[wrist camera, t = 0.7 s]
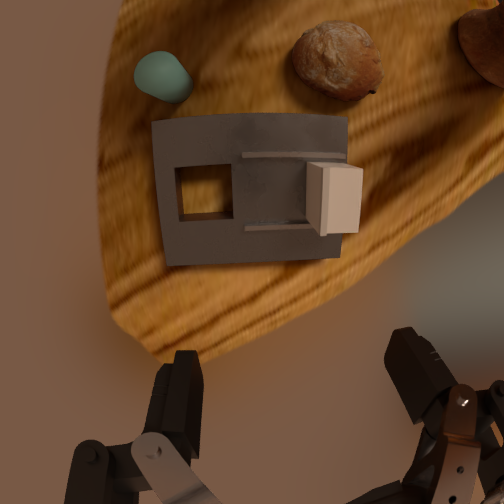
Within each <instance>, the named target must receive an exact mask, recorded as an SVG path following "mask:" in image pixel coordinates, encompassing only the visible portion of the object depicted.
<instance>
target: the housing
mask: <svg viewBox="0 0 504 504" xmlns="http://www.w3.org/2000/svg"><path fill="white" fill-rule="evenodd" d="M151 125H152V143H153V158H154V170H155V181H156V190H157V200H158V208H159V216H160V224H161V231H162V238H163V245H164V251H165V257H166V263H167V266H179V265H203V264H226V263H248V262H268V261H288V260H308V259H326V258H340V253H341V243H342V233H327V236H320V235H319V234H318V233H317V231H316V230H315V229H314V228H313V226H312V225H311V224H310V223H309V221H308V220H307V219H306V218H305V215H306V177H307V162H335V163H345V164H347V139H348V117H341V116H329V115H316V114H297V113H236V114H217V115H203V116H192V117H182V118H173V119H166V120H158V121H151ZM215 164H231V171H232V194H233V211H231V212H211V213H194V214H184V209H183V199H182V188H181V175H180V167H187V166H200V165H215Z"/></svg>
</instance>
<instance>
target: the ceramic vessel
mask: <svg viewBox="0 0 504 504" xmlns="http://www.w3.org/2000/svg"><path fill="white" fill-rule="evenodd" d="M458 40H459V44H460V47H461V49H462V51H463V53H464V55H465V57H466V58H467V60H468V62H469V63H470V64H471V66H472V67H473V68H474V69H475V70H476V71H477V72H478V73H479V74H480V75H481V76H482V77H483V78H484V79H485V80H487V81H488V82H490V83H492V84H494V85H497V86H499V87H500V88H504V0H503V1H502V3H501V4H499V5H498V6H496V7H494V8H492V9H488V10H483V9H474V10H471V11H469V12H467V13H465V14H464V15H463V16H462V17H461V18H460V20H459V22H458Z"/></svg>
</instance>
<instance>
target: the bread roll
mask: <svg viewBox="0 0 504 504" xmlns="http://www.w3.org/2000/svg"><path fill="white" fill-rule="evenodd" d="M303 34H304V35H303V36H302V37H301V38H300V39H298V40H297V42H296V44H295V46H294V48H293V52H292V61H293V65H294V68H295V71H296V72H297V74H298V75H299V77H300V78H301V80H302V81H303V82H304V83H305V84H306V85H308V86H309V87H311V88H314V89H315V90H317V91H320V92H321V93H323V94H325V95H327V96H330V97H332V98H335V99H339V100H342V101H349V100H353V101H357V100H360V99H362V98H364V97H365V96H366V95H368V94H369V93H371V94H375V93H376V91H377V89H378V87H379V85H380V84H381V83H382V82H381V80H382V78H383V77H384V71H383V68H382V65H381V63H380V62H381V60H380V53H379V52H378V50H377V48H376V46H375V44H374V42H373V40H372V39H371V37H370V36H369V35H368V34H367V33H366V32H365V31H364V30H363V29H362V28H360V27H359V26H357V25H356V24H354V23H351V22H345V21H325V22H322V23H321V24H319V25H318V26H316V28H314V29H313V28H312V29H309V30H307V31H305V32H304V33H303Z"/></svg>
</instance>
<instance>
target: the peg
mask: <svg viewBox="0 0 504 504" xmlns="http://www.w3.org/2000/svg"><path fill="white" fill-rule="evenodd" d="M134 81H135V84H136V86H137V87H138V88H139V89H140V90H141V91H143V92H145V93H147V94H150V95H152V96H154V97H156V98H159V99H161V100H163V101H165V102H168V103H172V104H175V103H180V102H182V101H184V100H186V99H187V98H188V97H189V96H190V94H191V93H192V90H193V80H192V78H191V76H190V75H189V74H188V73H187V71H186V70H185V69H184V68H183V66H182V65H181V64H180V62H179V61H178V60H177V59H176V58H175V56H173V55H172V54H171V53H168V52H165V51H156V52H152V53H150V54H148V55H146V56H145V57H144V58H142V59H141V60H140V62H139V63H138V64H137V66H136V68H135V71H134Z"/></svg>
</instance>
